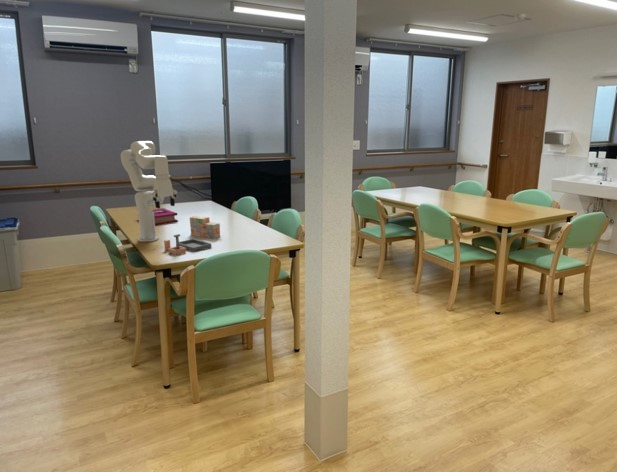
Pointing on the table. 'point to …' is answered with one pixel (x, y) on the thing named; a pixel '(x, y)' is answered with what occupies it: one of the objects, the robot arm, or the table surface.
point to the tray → (194, 245)
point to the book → (164, 216)
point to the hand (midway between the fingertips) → (165, 206)
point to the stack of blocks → (204, 227)
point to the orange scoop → (173, 248)
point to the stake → (177, 240)
